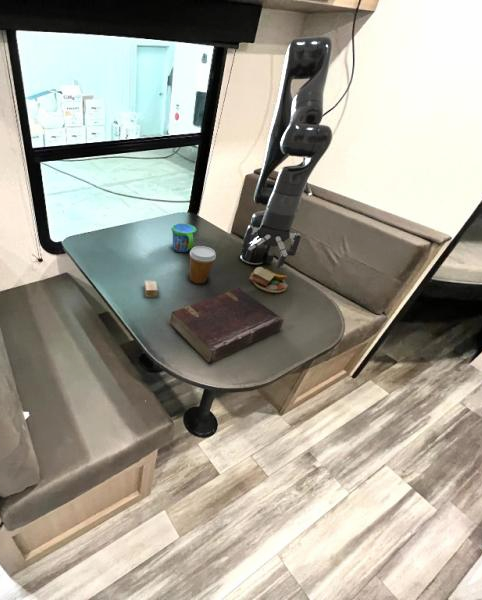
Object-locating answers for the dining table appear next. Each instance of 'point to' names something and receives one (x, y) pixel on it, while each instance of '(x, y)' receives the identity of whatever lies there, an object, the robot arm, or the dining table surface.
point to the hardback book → (225, 323)
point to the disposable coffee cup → (201, 263)
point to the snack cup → (183, 237)
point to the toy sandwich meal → (268, 280)
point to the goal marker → (150, 289)
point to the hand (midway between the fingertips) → (262, 263)
